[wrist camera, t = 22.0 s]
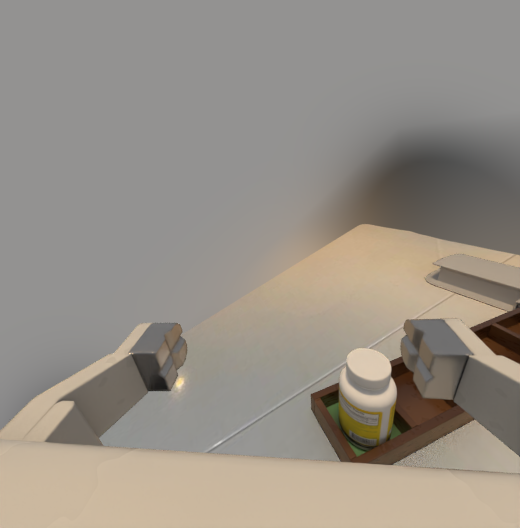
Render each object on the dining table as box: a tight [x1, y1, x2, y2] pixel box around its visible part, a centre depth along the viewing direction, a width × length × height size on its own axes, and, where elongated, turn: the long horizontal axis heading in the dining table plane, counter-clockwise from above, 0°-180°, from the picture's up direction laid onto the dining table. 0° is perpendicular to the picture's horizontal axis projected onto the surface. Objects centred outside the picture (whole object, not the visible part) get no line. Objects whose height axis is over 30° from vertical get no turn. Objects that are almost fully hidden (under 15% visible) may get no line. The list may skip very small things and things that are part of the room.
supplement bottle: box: [339, 348, 397, 451], centre depth 26 cm, size 5×5×10 cm
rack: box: [311, 307, 520, 465], centre depth 31 cm, size 8×38×3 cm, turn 109°
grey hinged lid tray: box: [425, 254, 520, 312], centre depth 47 cm, size 15×23×4 cm, turn 31°
